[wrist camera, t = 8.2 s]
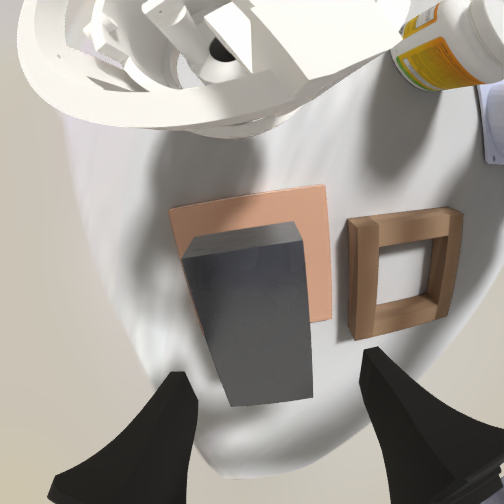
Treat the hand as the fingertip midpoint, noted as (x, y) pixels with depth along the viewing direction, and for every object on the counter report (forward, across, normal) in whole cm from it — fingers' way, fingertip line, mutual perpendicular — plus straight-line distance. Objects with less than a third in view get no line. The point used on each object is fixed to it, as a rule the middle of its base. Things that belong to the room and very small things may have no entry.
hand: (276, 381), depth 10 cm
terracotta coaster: (+10, +1, 0) cm, 10 cm away
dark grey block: (+9, +1, 0) cm, 9 cm away
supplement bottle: (+10, -13, -15) cm, 22 cm away
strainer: (+10, 0, -12) cm, 16 cm away
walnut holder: (+10, -10, +1) cm, 14 cm away
